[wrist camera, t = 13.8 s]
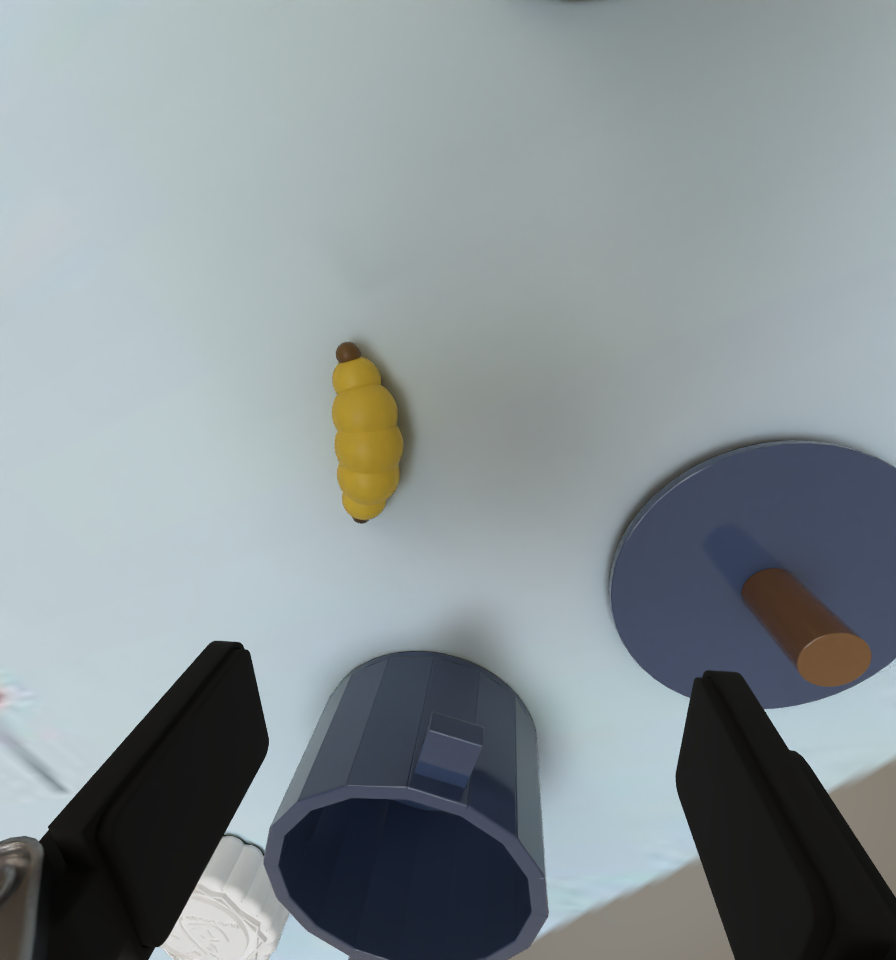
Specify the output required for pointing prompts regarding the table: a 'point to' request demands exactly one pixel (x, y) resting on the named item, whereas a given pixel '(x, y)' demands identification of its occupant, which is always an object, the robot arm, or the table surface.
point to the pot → (416, 817)
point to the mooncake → (229, 910)
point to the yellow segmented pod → (364, 435)
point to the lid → (764, 572)
